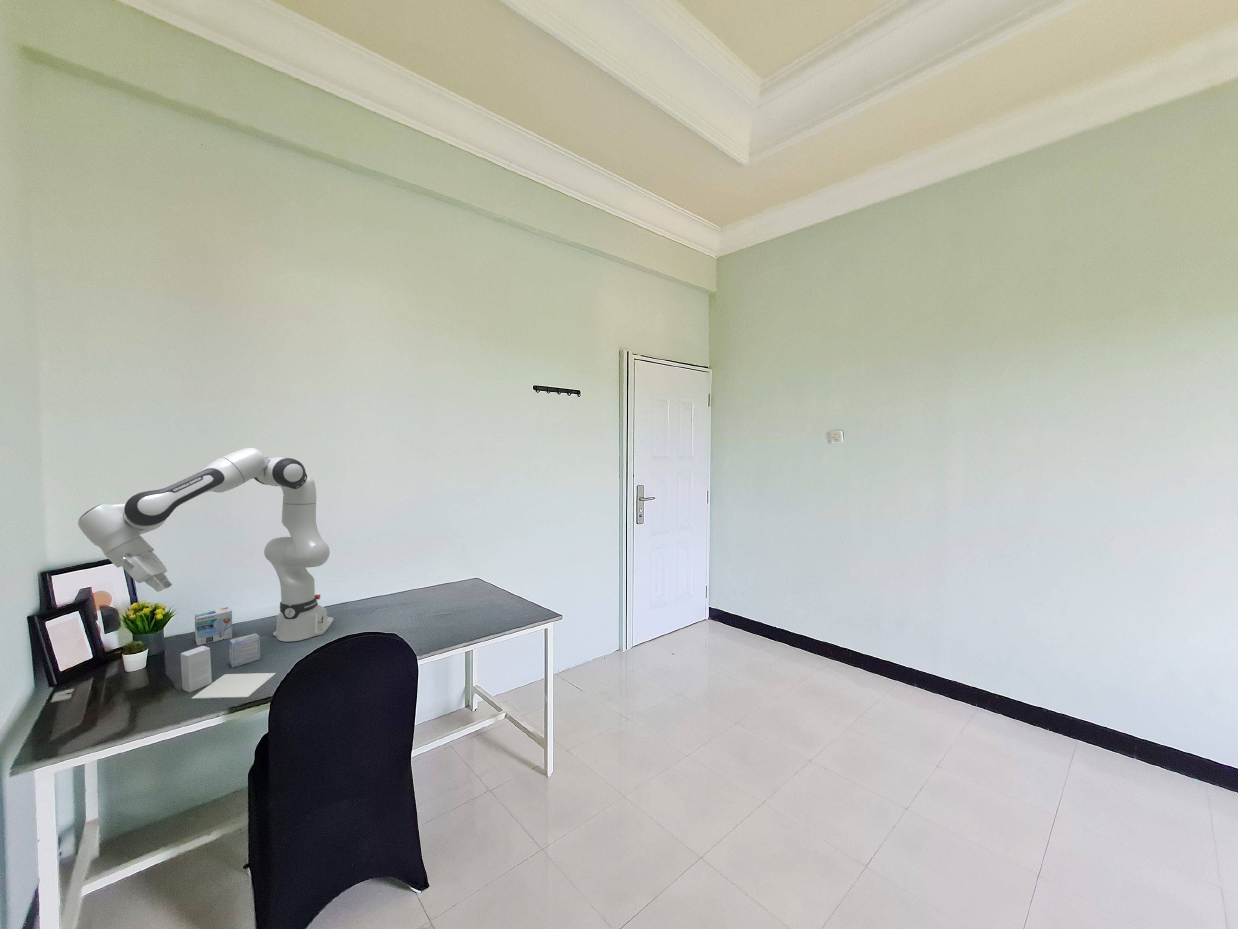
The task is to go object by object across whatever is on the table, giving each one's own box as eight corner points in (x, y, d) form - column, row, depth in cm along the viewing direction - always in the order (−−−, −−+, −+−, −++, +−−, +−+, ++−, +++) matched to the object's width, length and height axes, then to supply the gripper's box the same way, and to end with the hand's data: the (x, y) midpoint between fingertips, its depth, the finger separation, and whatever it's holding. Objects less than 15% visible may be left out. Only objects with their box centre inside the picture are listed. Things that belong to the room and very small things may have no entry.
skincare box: (204, 680, 153) (203, 645, 152) (212, 683, 152) (210, 647, 151) (181, 690, 148) (179, 653, 147) (189, 693, 146) (187, 655, 145)
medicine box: (257, 655, 170) (256, 632, 170) (260, 659, 168) (260, 636, 167) (229, 663, 164) (228, 639, 164) (232, 668, 162) (231, 643, 161)
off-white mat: (224, 675, 157) (224, 674, 157) (276, 673, 159) (276, 672, 159) (191, 699, 143) (191, 698, 143) (247, 697, 145) (247, 696, 145)
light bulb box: (197, 646, 176) (195, 618, 176) (194, 640, 181) (193, 613, 180) (233, 637, 184) (232, 610, 183) (230, 632, 189) (229, 605, 188)
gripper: (133, 547, 134) (169, 584, 138) (152, 545, 151) (184, 578, 154) (106, 562, 131) (144, 600, 134) (129, 558, 148) (161, 592, 151)
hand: (165, 588), depth 144 cm, fingers open, 8 cm apart
